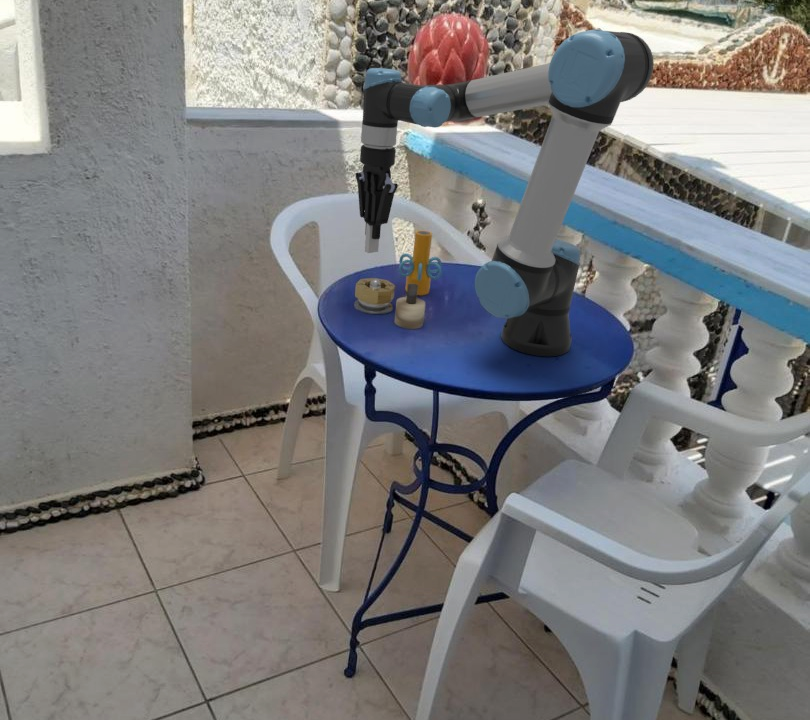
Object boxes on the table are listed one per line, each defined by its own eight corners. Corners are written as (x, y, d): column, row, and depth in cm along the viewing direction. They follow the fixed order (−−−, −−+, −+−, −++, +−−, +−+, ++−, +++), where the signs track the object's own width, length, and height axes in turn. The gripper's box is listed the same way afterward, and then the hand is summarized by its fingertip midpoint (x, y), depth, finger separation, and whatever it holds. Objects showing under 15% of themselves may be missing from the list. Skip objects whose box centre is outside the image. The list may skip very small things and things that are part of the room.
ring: (396, 294, 180) (397, 282, 179) (387, 306, 172) (388, 294, 171) (362, 287, 181) (363, 275, 180) (351, 299, 174) (352, 287, 173)
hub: (400, 310, 177) (403, 283, 174) (368, 317, 172) (370, 288, 169) (378, 297, 184) (380, 270, 181) (346, 302, 179) (348, 275, 176)
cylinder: (438, 302, 185) (446, 242, 178) (395, 298, 184) (401, 238, 178) (437, 285, 196) (445, 227, 189) (397, 280, 195) (402, 223, 189)
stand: (428, 326, 171) (433, 288, 167) (405, 330, 167) (410, 292, 164) (411, 315, 176) (415, 278, 172) (388, 320, 172) (392, 282, 168)
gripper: (410, 150, 162) (401, 257, 172) (375, 139, 171) (368, 241, 181) (381, 152, 158) (374, 261, 168) (347, 140, 167) (342, 245, 177)
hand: (371, 251), depth 175 cm, fingers closed
